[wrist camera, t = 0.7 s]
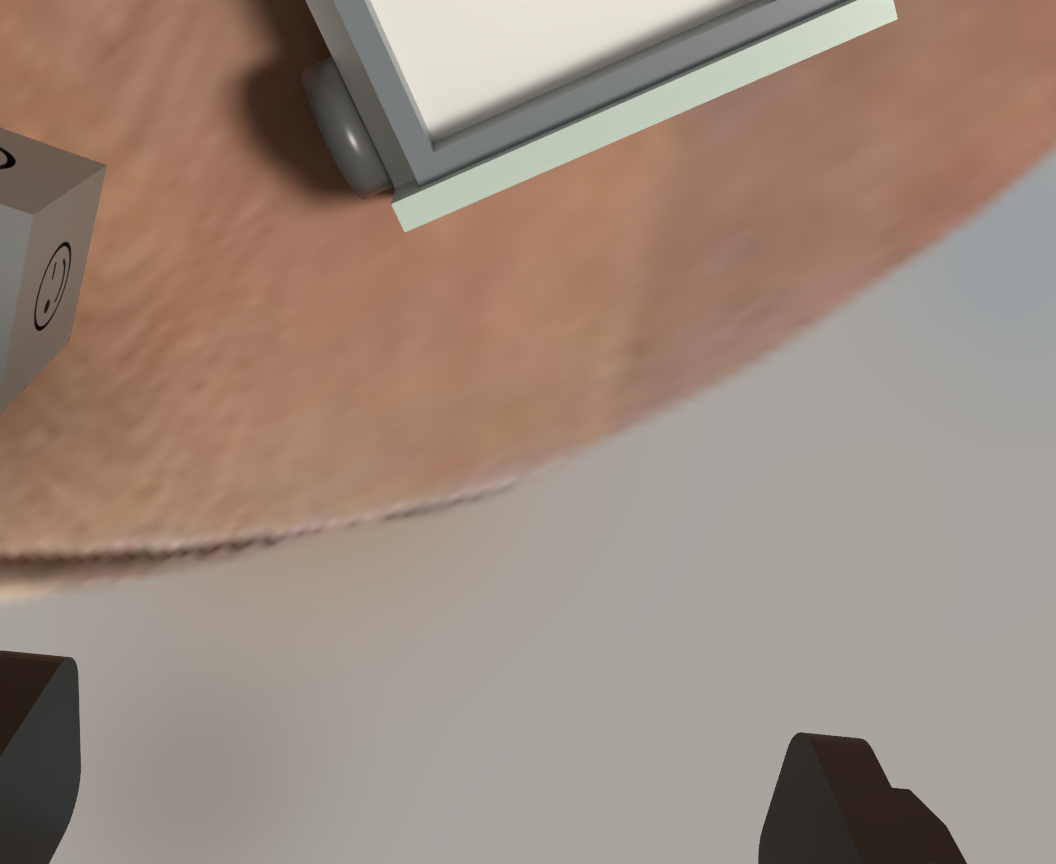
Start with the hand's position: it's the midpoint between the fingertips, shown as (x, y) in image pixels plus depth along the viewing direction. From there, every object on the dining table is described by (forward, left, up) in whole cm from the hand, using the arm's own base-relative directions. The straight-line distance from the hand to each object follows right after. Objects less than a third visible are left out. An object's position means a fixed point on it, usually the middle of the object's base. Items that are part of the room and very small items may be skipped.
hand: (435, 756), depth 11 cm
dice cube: (-6, -10, -18) cm, 22 cm away
